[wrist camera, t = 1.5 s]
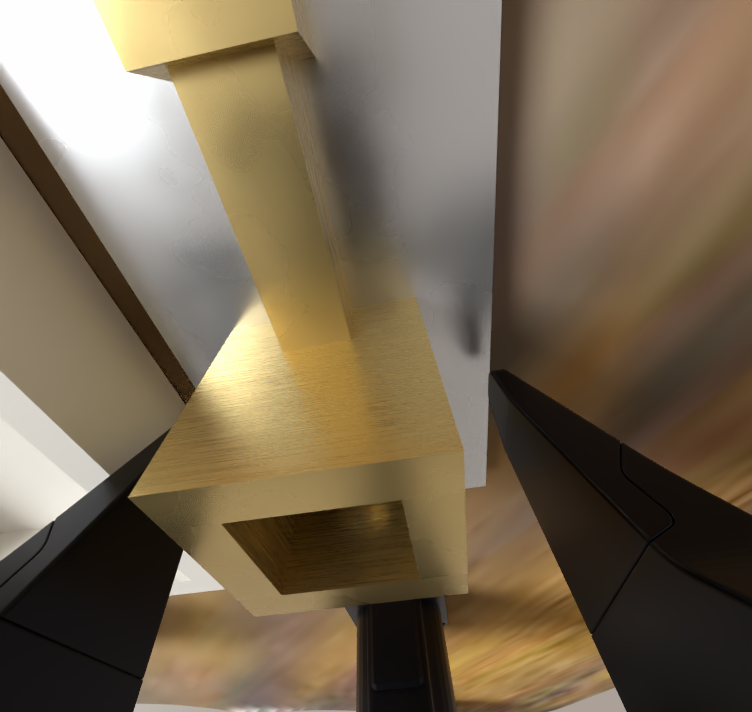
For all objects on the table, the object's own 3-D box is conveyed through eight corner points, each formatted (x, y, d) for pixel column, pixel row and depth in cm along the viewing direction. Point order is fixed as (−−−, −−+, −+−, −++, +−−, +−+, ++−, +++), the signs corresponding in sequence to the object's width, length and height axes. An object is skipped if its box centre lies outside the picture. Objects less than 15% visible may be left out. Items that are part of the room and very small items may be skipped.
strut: (430, 426, 12) (468, 592, 7) (291, 447, 12) (254, 617, 8) (368, -127, 5) (407, -1527, 1) (53, -43, 5) (-1125, -684, 1)
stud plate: (478, 465, 15) (514, 568, 11) (280, 492, 15) (257, 597, 12) (485, -139, 5) (690, -573, 2) (-15, -10, 6) (-490, -179, 3)
